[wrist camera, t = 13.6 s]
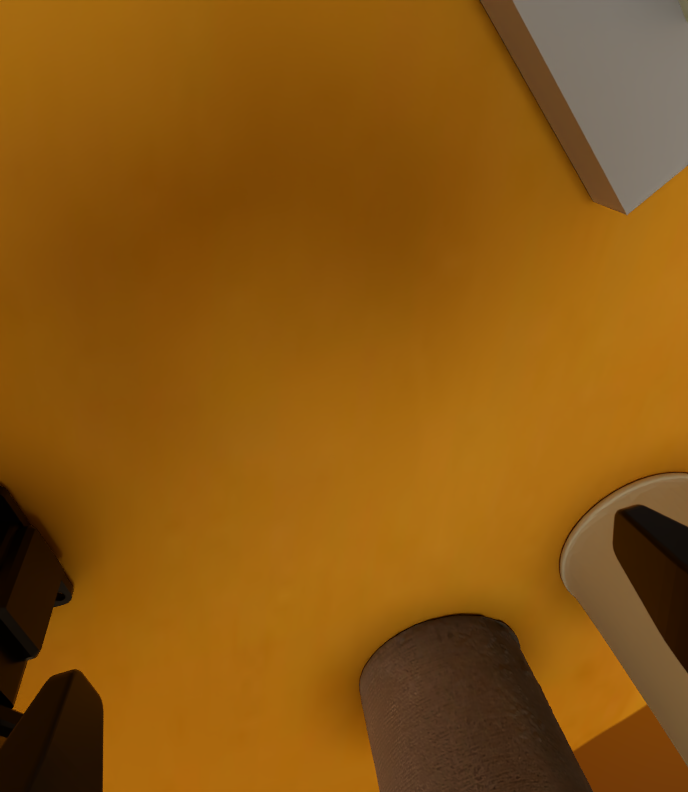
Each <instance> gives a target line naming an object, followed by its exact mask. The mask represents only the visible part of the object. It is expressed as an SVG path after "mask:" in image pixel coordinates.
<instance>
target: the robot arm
mask: <svg viewBox="0 0 688 792" xmlns="http://www.w3.org/2000/svg"><path fill="white" fill-rule="evenodd" d="M612 545H613V550H614V553H615V556H616V558H617V560H618V561H619V563H620V565H621V567H622V568H623V570H624V572H625V573H626V575H627V577H628V579H629V580H630V582H631V584H632V586H633V587H634V589H635V591H636V593H637V594H638V596H639V598H640V600H641V601H642V603H643V605H644V607H645V608H646V610H647V612H648V614H649V615H650V617H651V619H652V621H653V622H654V624H655V626H656V628H657V629H658V631H659V633H660V634H661V636H662V638H663V639H664V641H665V642H666V644H667V645H668V647H669V648H670V650H671V651H672V652H673V654H674V655H675V657H676V658H677V660H678V661H679V662H680V664H681V665H682V666H683V668H684V669H685V671H686V672H687V673H688V526H686V525H684V524H682V523H680V522H678V521H675V520H673V519H671V518H669V517H667V516H665V515H663V514H661V513H659V512H657V511H655V510H653V509H651V508H649V507H647V506H644V505H641V504H636V505H632V506H629V507H625V508H622V509H619V510H617V511H616V513H615V516H614V527H613V540H612ZM63 572H64V569H63V567H62V565H61V564H60V562H59V561H58V560H57V558H56V557H55V555H54V554H53V552H52V551H51V549H50V548H49V546H48V545H47V543H46V542H45V540H44V539H43V537H42V536H41V534H40V533H39V532H38V530H37V529H36V528H34V527H33V526H31V524H30V523H29V521H28V520H27V518H26V517H25V515H24V514H23V513H22V511H21V510H20V508H19V507H18V505H17V504H16V502H15V501H14V499H13V498H12V496H11V495H10V493H9V492H8V491H7V490H6V489H5V488H4V487H2V486H0V792H103V704H102V700H101V698H100V696H99V694H98V693H97V691H96V690H95V689H94V688H93V686H92V685H91V684H90V682H89V681H88V680H87V678H86V677H85V676H84V674H83V673H82V672H81V671H79V670H77V669H73V670H70V671H66V672H63V673H59V674H56V675H54V676H52V677H50V678H49V679H48V680H47V682H46V683H45V684H44V686H43V687H42V688H41V690H40V691H39V693H38V694H37V696H36V697H35V699H34V700H33V701H32V703H31V704H30V706H29V707H28V709H27V710H26V712H25V713H24V714H23V713H21V712H18V711H16V710H14V709H12V708H13V707H14V704H15V700H16V697H17V694H18V691H19V687H20V684H21V681H22V678H23V674H24V671H25V668H26V664H27V661H28V660H30V659H33V658H36V657H37V656H38V654H39V652H40V650H41V648H42V644H43V641H44V637H45V634H46V631H47V627H48V624H49V620H50V617H51V613H52V610H53V607H57V606H60V605H64V604H66V603H68V602H69V601H70V600H71V598H72V594H73V590H74V588H73V586H72V584H71V583H70V581H69V580H68V578H67V577H66V575H65V574H64V573H63ZM60 593H62V594H60Z"/></svg>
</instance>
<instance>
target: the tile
mask: <svg viewBox="0 0 688 792" xmlns="http://www.w3.org/2000/svg"><path fill="white" fill-rule="evenodd" d="M480 1H481V3H482V5H483V7H484V8H485V10H486V12H487V14H488V15H489V17H490V19H491V21H492V23H493V24H494V26H495V28H496V30H497V31H498V33H499V35H500V37H501V38H502V40H503V42H504V44H505V46H506V47H507V49H508V51H509V53H510V54H511V56H512V58H513V60H514V62H515V63H516V65H517V67H518V69H519V70H520V72H521V74H522V76H523V78H524V79H525V81H526V83H527V85H528V86H529V88H530V90H531V92H532V94H533V95H534V97H535V99H536V101H537V102H538V104H539V106H540V108H541V110H542V111H543V113H544V115H545V117H546V118H547V120H548V122H549V124H550V126H551V127H552V129H553V131H554V133H555V134H556V136H557V138H558V140H559V141H560V143H561V145H562V147H563V149H564V150H565V152H566V154H567V156H568V157H569V159H570V161H571V163H572V165H573V166H574V168H575V170H576V172H577V173H578V175H579V177H580V179H581V181H582V182H583V184H584V186H585V188H586V189H587V191H588V193H589V195H590V197H591V198H592V200H593V202H596V203H598V204H601V205H603V206H606V207H608V208H611V209H613V210H616V211H618V212H621V213H623V214H626V215H628V214H629V213H630V212H631V211H632V210H634V209H635V208H636V207H637V206H639V205H640V204H641V203H642V202H643V201H645V200H646V199H647V198H648V197H650V196H651V195H652V194H653V193H654V192H656V191H657V190H658V189H659V188H661V187H662V186H663V185H664V184H665V183H667V182H668V181H669V180H670V179H671V178H673V177H674V176H675V175H676V174H678V173H679V172H680V171H681V170H682V169H684V168H685V167H686V166H687V165H688V22H686V19H685V16H684V14H683V11H682V9H681V6H680V3H679V1H678V0H480Z"/></svg>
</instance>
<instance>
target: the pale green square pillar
mask: <svg viewBox="0 0 688 792" xmlns="http://www.w3.org/2000/svg"><path fill="white" fill-rule="evenodd" d="M678 1H679V3H680V6H681V9H682V11H683V14H684V16H685V19H686V22H688V0H678Z"/></svg>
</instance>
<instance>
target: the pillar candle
mask: <svg viewBox="0 0 688 792" xmlns="http://www.w3.org/2000/svg"><path fill="white" fill-rule="evenodd" d="M359 686H360V695H361V700H362V706H363V711H364V716H365V721H366V725H367V731H368V736H369V740H370V745H371V749H372V755H373V759H374V763H375V768H376V774H377V779H378V784H379V789H380V792H593V791H592V789H591V787H590V785H589V783H588V781H587V779H586V777H585V775H584V773H583V771H582V769H581V768H580V766H579V763H578V762H577V760H576V758H575V756H574V754H573V752H572V750H571V748H570V746H569V744H568V742H567V740H566V738H565V735H564V733H563V732H562V730H561V728H560V726H559V724H558V722H557V720H556V718H555V716H554V714H553V712H552V709H551V707H550V706H549V704H548V701H547V700H546V698H545V695H544V693H543V691H542V689H541V686H540V685H539V684H538V682H537V680H536V679H535V677H534V675H533V673H532V671H531V669H530V667H529V665H528V663H527V661H526V659H525V657H524V655H523V653H522V651H521V650H520V644H519V641H518V638H517V636H516V635H515V633H514V632H513V631H512V630H511V629H510V628H509V627H508V626H507V625H506V624H505V623H502V622H499V621H496V620H494V619H491V618H486V617H482V616H468V615H460V616H450V617H444V618H439V619H436V620H431V621H426V622H423V623H421V624H417V625H415V626H413V627H410V628H409V629H408V630H405V631H404V632H401V633H400V634H398V635H397V636H396V637H394V638H392V639H390V640H389V641H388V642H386V643H385V644H384V645H383V646H382V647H380V648H379V649H378V650H377V651H376V652H375V653H374V655H373V656H372V657H371V659H370V660H369V661H368V663H367V664H366V666H365V667H364V670H363V672H362V675H361V678H360V684H359Z"/></svg>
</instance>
